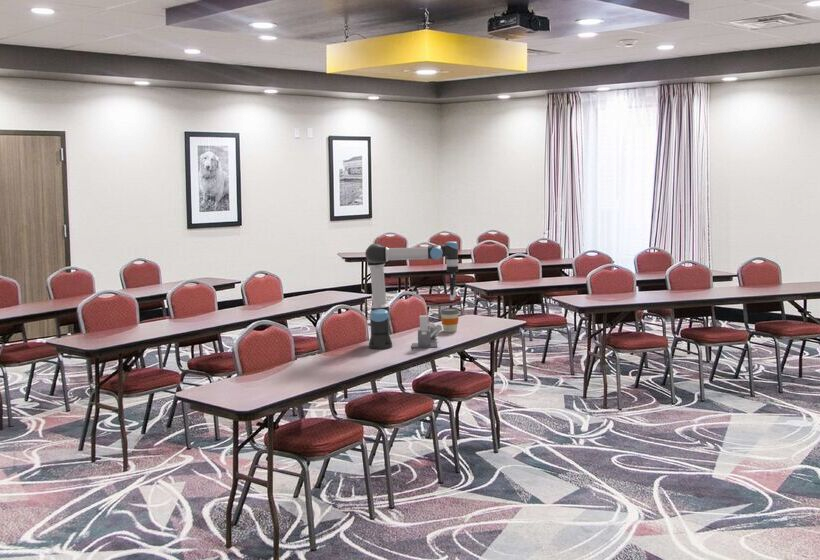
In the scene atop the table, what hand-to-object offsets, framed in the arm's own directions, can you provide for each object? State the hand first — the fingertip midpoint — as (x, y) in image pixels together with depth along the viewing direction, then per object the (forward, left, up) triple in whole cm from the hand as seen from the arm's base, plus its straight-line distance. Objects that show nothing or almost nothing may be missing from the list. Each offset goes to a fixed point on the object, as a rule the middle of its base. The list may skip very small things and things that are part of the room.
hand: (452, 298), depth 561 cm
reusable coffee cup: (-1, +37, -28) cm, 46 cm away
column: (-19, -14, -27) cm, 36 cm away
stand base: (-19, -14, -28) cm, 37 cm away
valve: (-16, +5, -28) cm, 33 cm away
